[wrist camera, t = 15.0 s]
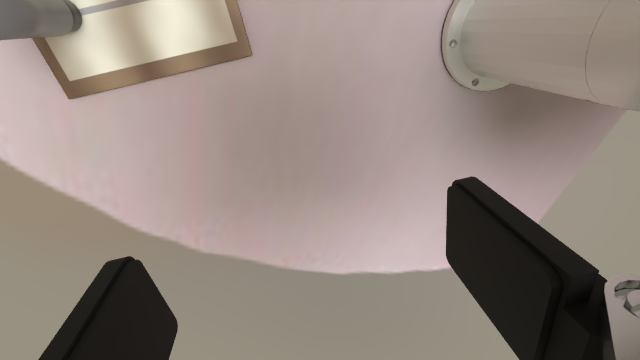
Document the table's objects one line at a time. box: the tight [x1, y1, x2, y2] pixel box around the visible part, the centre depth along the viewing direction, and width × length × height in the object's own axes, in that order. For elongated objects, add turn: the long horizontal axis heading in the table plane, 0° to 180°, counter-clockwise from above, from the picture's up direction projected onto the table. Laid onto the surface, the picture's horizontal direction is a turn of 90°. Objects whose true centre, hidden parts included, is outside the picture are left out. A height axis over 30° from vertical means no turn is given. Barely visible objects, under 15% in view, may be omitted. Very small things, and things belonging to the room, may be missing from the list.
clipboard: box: [32, 0, 252, 99], centre depth 27 cm, size 18×13×2 cm
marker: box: [0, 0, 82, 40], centre depth 21 cm, size 3×3×12 cm
